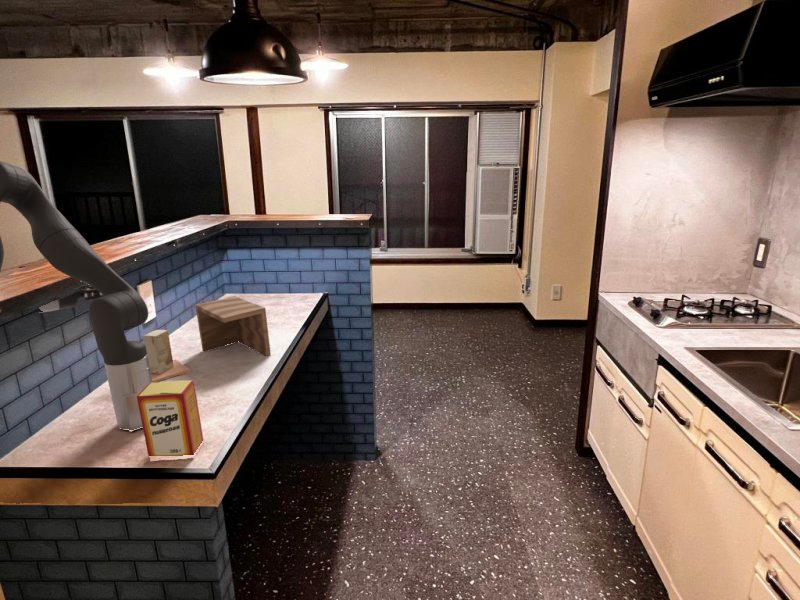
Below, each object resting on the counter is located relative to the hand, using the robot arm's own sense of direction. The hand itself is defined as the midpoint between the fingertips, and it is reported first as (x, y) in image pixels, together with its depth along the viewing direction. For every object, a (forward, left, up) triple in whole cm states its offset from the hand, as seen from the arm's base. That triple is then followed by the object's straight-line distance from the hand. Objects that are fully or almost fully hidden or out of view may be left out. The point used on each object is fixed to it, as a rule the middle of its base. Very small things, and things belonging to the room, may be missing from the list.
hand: (121, 283), depth 140 cm
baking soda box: (-47, +6, -30) cm, 56 cm away
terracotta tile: (+2, -7, -30) cm, 31 cm away
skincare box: (+2, -7, -29) cm, 30 cm away
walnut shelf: (0, -30, -30) cm, 42 cm away
